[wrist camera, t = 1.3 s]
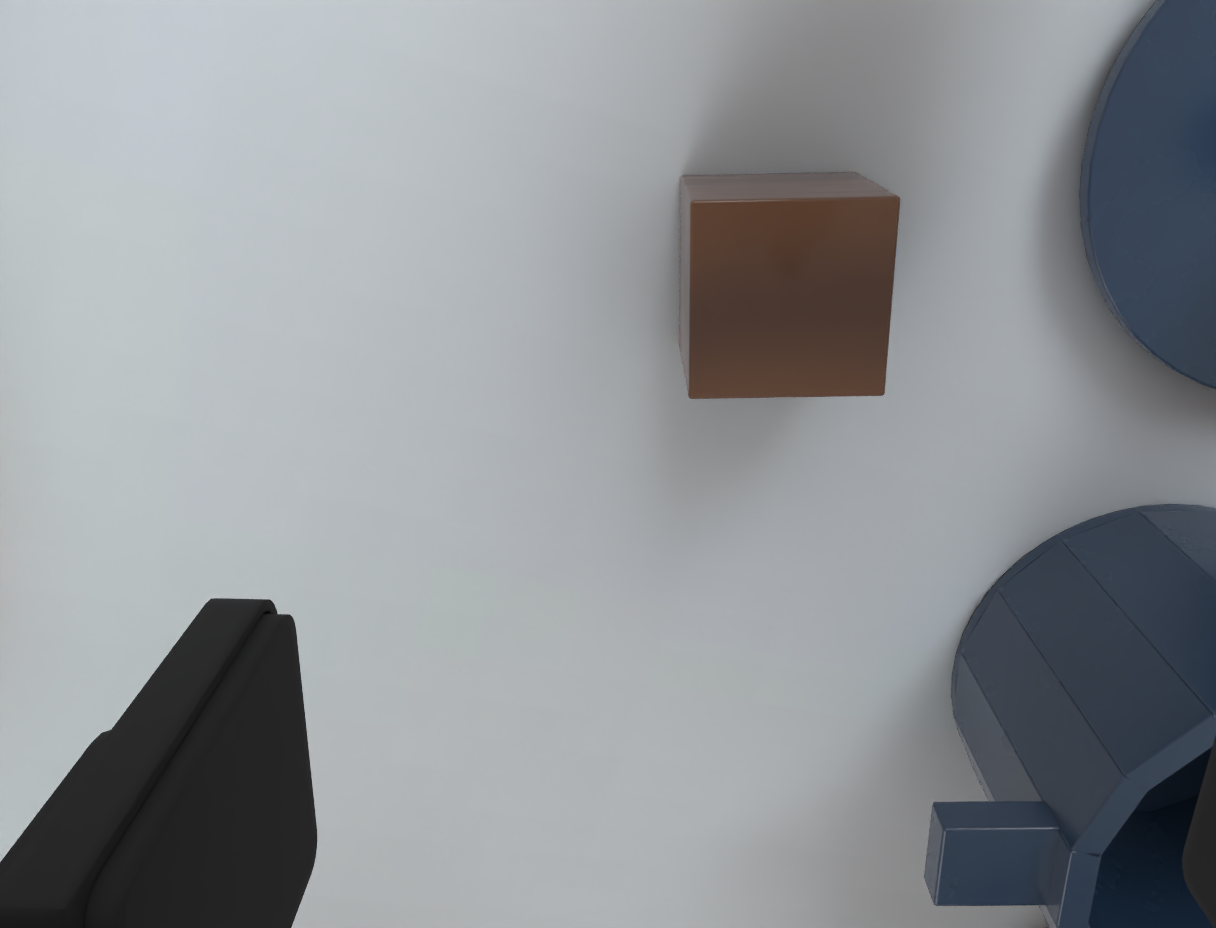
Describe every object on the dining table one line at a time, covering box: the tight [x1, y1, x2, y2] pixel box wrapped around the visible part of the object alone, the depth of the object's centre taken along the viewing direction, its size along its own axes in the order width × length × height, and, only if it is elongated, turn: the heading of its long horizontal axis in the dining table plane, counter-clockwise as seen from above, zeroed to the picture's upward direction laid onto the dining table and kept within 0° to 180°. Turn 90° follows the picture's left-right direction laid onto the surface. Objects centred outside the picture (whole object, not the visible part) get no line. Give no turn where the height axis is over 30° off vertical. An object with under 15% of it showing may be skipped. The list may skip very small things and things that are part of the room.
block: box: [679, 172, 900, 399], centre depth 26 cm, size 5×5×5 cm
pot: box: [924, 504, 1216, 928], centre depth 28 cm, size 12×17×9 cm
